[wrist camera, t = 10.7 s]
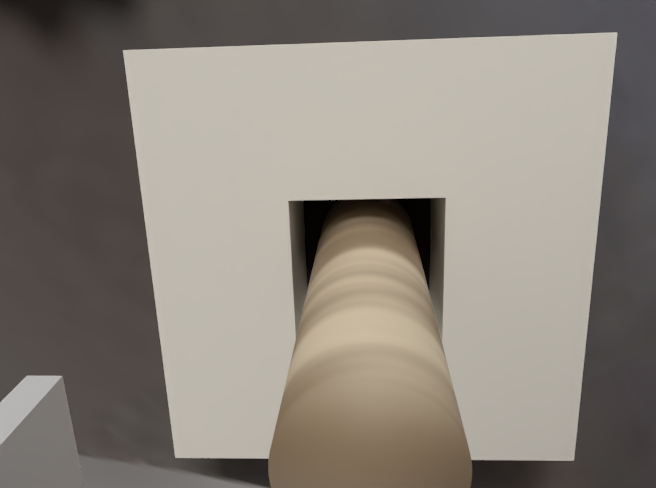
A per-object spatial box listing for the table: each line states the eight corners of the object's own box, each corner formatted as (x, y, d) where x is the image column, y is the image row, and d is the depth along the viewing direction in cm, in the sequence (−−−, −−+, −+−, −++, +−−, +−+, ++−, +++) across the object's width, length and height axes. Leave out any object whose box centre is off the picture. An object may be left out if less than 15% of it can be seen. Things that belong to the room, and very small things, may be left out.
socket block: (168, 48, 26) (122, 50, 21) (568, 34, 24) (617, 32, 20) (205, 392, 30) (175, 457, 26) (540, 393, 29) (574, 460, 25)
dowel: (319, 191, 27) (261, 383, 12) (413, 188, 27) (476, 382, 12) (323, 277, 28) (274, 553, 13) (412, 276, 28) (469, 556, 13)
